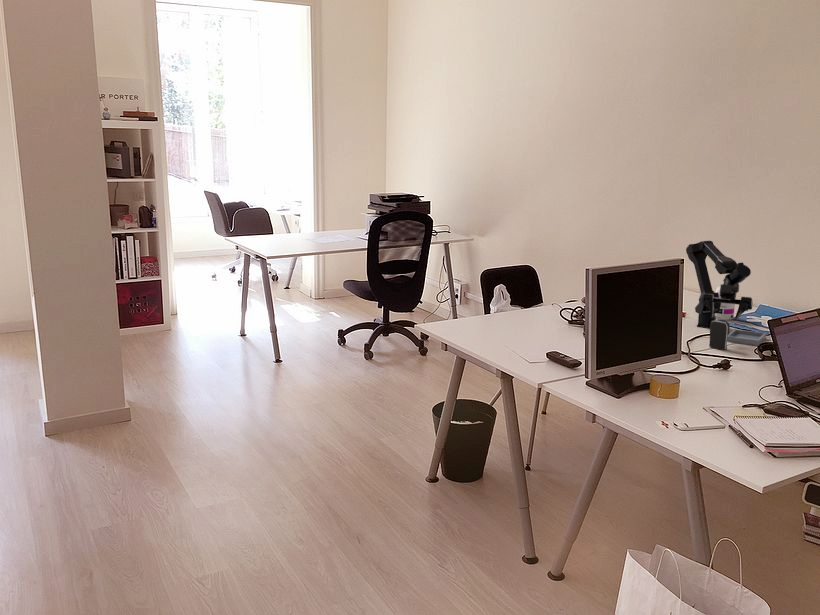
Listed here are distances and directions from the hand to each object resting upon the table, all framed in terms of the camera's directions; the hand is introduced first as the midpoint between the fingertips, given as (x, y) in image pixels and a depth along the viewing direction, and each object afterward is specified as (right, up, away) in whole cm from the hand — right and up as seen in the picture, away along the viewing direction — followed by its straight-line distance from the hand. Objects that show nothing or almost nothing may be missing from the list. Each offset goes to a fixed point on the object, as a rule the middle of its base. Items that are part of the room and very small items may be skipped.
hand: (723, 318), depth 283 cm
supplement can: (+19, -1, +41) cm, 45 cm away
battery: (-2, -12, -1) cm, 12 cm away
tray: (+13, -9, +8) cm, 18 cm away
